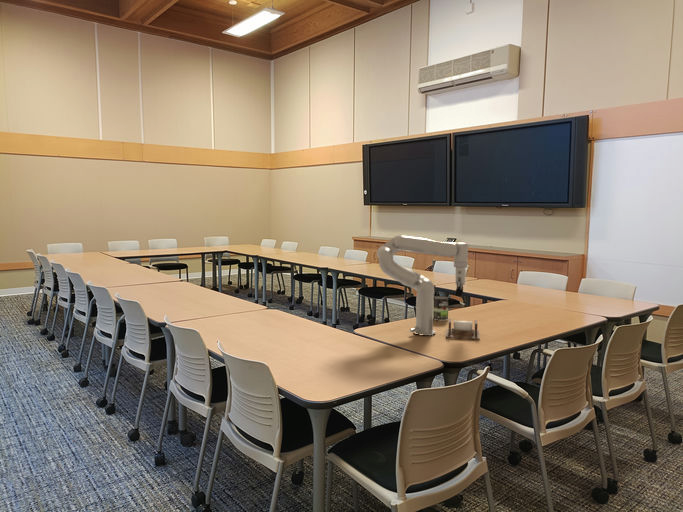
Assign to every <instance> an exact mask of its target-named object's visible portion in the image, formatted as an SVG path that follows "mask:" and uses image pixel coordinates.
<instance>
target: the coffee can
mask: <svg viewBox="0 0 683 512" xmlns="http://www.w3.org/2000/svg"><path fill="white" fill-rule="evenodd" d="M433 319H434V320H433V321H436V320H438V321H437V322H446V321H449V297H448V296H445V295H435V296H434V297H433Z"/></svg>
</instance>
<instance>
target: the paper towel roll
mask: <svg viewBox="0 0 683 512" xmlns="http://www.w3.org/2000/svg"><path fill="white" fill-rule="evenodd" d="M453 328H454V330H459V331H472V329H473V321H470V320H469V321H468V320H453Z"/></svg>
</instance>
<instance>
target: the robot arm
mask: <svg viewBox="0 0 683 512" xmlns="http://www.w3.org/2000/svg"><path fill="white" fill-rule="evenodd" d="M400 251H401V252H409V253H417V254H425V255H432V256H440V257H449V258H450V257H453V267H454V268H455V285H456V287H455V288H456V289H455V296H456V297H462V295H463V293H464V286H465V285H466V268H468V262H469V261H468V257H469V244H468V243H467V242H453V241H452V242H451V241H443V242H442V241H435V240H432V239H429V238H424V237H416V236H409V235H402V234H397V235H395V236H393V237H392V238H391V239H390V240H389V241H387V242H385V243H384V244H383V245H381V246H380V247H378V249H377V251H376V257H377V259H378V264H379V267H380V269H381V271H382V272H383V273H384V274H385V275H387V276H388V277H390V278H392V279H393V280H395V281H398V282H399V283H400V284H402V285H403V286H406V287H409V288H411V289H412V290H415V291H416V301H415V303H416V304H415V309H416V310H415V325H414V328H410V329H409V332H410V333H413V332H416V333H418V334H423V335H432V336H434V335H433V334H435V335H436V330H434V320H433V297H434V295H435V286H434V283H433V282H432V281H431V279H429V278H428V277H426V276H424V275H423V274H421V273H419V272H417V271H415V270H413V269H411V268H410V267H405V266H403V265H401V264H399V263H397V262H395V260H394V256H395V255H396V254H398V253H399V252H400Z"/></svg>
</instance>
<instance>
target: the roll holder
mask: <svg viewBox="0 0 683 512" xmlns="http://www.w3.org/2000/svg"><path fill="white" fill-rule="evenodd" d="M446 338H455V339H454V340H461V339H468V340H467V341H477V340H481V337H480V331H479V330H478V320H476V319H475V320H474V328H472V331H459V330H454V327H452V318H448V328H446V332H445V339H446Z"/></svg>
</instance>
